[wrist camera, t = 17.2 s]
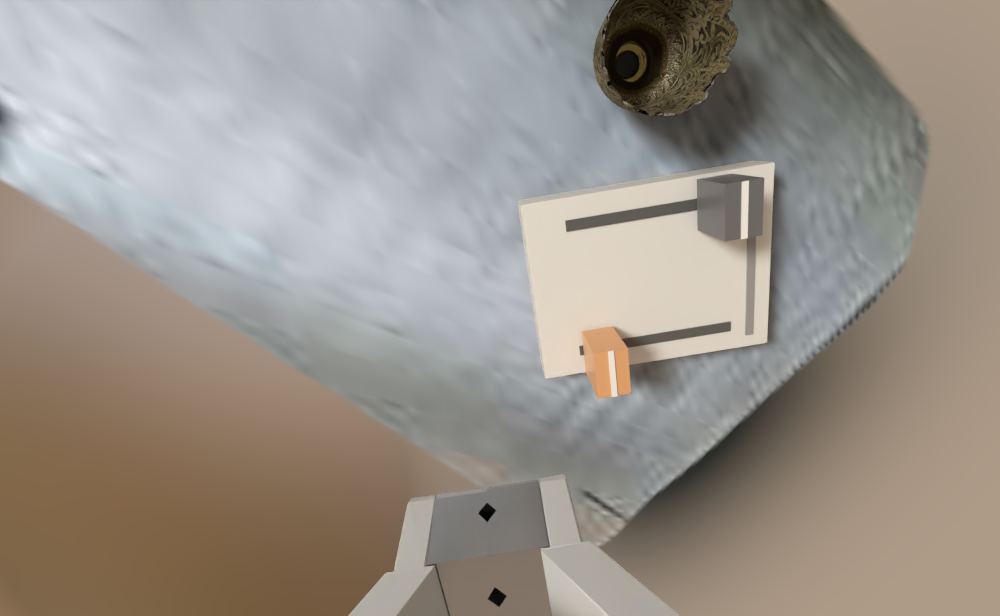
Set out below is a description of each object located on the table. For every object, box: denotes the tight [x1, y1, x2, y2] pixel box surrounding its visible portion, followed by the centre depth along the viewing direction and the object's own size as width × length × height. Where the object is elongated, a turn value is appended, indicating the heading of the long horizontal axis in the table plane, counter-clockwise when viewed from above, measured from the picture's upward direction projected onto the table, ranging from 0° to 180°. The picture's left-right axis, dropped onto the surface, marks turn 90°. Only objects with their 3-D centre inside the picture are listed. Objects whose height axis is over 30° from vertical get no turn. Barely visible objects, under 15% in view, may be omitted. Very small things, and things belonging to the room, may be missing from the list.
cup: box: [593, 0, 738, 117], centre depth 29 cm, size 8×7×8 cm
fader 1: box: [582, 326, 631, 398], centre depth 34 cm, size 4×2×4 cm, turn 9°
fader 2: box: [697, 173, 764, 241], centre depth 31 cm, size 4×2×4 cm, turn 9°
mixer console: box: [517, 161, 775, 379], centre depth 36 cm, size 14×18×3 cm
